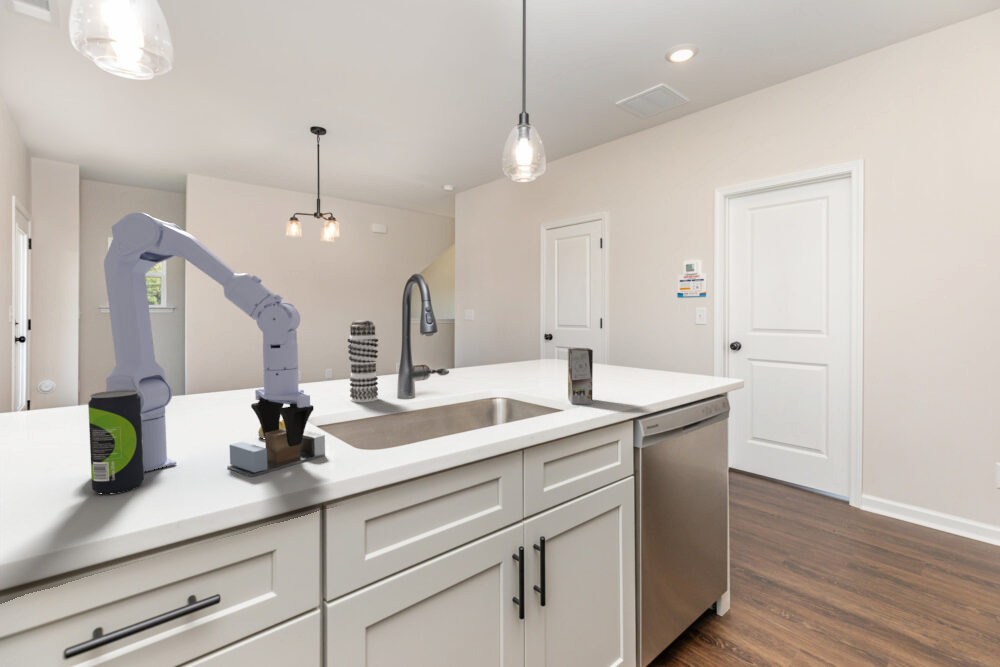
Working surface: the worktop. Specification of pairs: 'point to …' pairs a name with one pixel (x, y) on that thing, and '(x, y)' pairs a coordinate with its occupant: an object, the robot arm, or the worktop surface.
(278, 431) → the walnut block
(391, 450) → the worktop surface
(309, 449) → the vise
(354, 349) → the decorative candle
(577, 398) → the coffee box
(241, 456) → the sliding jaw
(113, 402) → the beverage can
